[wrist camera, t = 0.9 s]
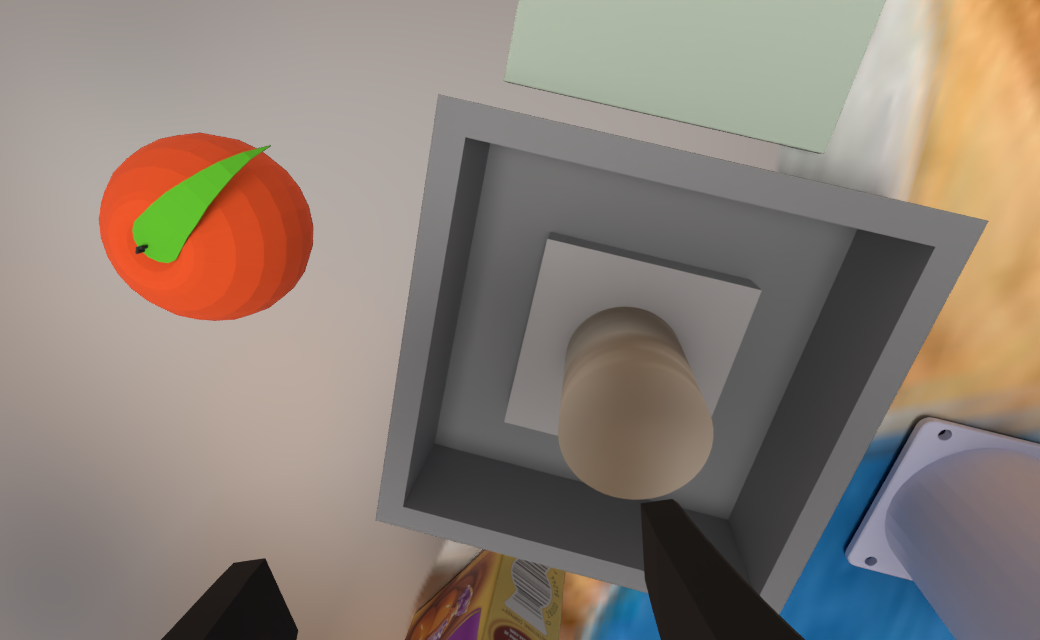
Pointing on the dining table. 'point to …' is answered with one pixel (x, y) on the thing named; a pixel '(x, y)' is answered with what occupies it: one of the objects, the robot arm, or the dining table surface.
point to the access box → (674, 298)
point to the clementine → (206, 226)
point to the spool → (631, 407)
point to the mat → (701, 60)
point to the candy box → (494, 603)
